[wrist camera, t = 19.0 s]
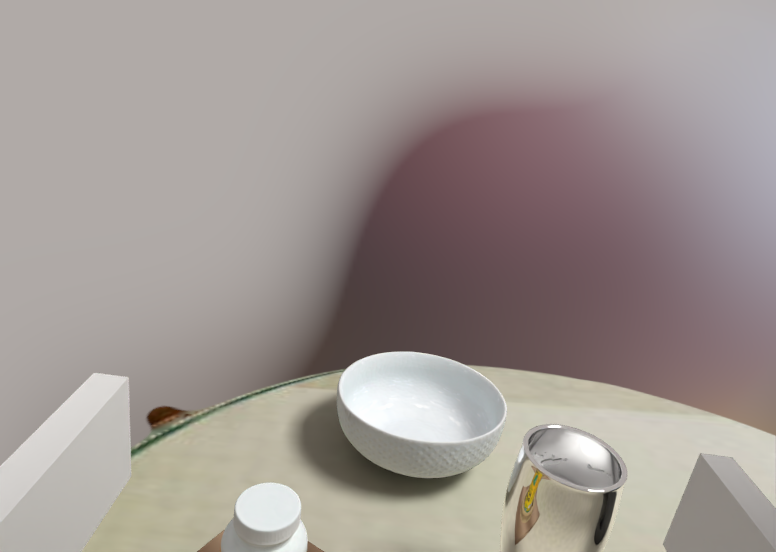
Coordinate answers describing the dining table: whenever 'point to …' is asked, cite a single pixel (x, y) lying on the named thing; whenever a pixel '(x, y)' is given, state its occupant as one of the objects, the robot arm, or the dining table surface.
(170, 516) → the dining table surface
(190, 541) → the dining table surface
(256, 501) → the supplement bottle
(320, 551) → the collar stand
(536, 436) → the silver metal tumbler
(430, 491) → the dining table surface
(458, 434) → the cereal bowl
